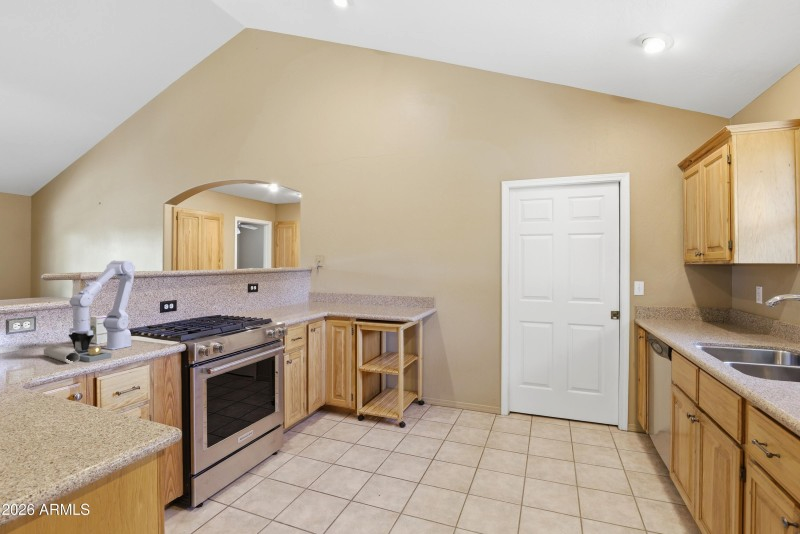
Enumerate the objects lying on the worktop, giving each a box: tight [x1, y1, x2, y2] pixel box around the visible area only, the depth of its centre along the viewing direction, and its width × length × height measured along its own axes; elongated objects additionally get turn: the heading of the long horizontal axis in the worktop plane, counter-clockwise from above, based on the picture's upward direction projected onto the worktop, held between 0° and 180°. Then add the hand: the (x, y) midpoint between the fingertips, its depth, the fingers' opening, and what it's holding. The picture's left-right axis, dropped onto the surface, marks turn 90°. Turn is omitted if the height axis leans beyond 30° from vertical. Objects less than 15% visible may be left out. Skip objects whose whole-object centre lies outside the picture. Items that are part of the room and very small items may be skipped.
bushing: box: [74, 340, 87, 354], centre depth 181 cm, size 4×4×7 cm
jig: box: [72, 350, 113, 363], centre depth 180 cm, size 9×19×2 cm, turn 67°
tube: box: [43, 345, 81, 364], centre depth 176 cm, size 5×5×25 cm
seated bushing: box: [88, 346, 102, 356], centre depth 178 cm, size 4×4×5 cm
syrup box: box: [89, 314, 107, 345], centre depth 208 cm, size 6×6×14 cm
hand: (81, 349), depth 181 cm, fingers open, 5 cm apart
